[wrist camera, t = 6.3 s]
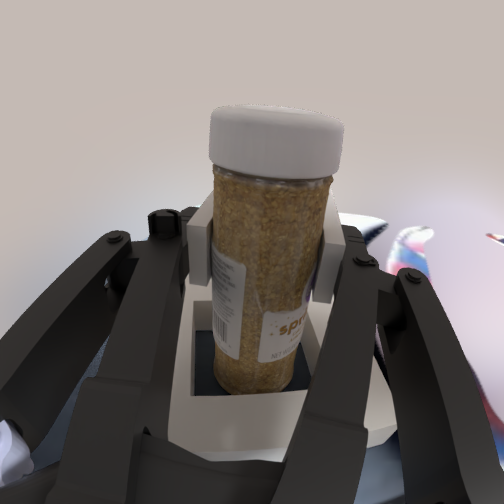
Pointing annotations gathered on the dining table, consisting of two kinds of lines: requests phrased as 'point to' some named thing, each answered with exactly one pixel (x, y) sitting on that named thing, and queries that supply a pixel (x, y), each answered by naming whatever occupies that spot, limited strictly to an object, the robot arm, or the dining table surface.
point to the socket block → (253, 396)
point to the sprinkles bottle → (266, 236)
